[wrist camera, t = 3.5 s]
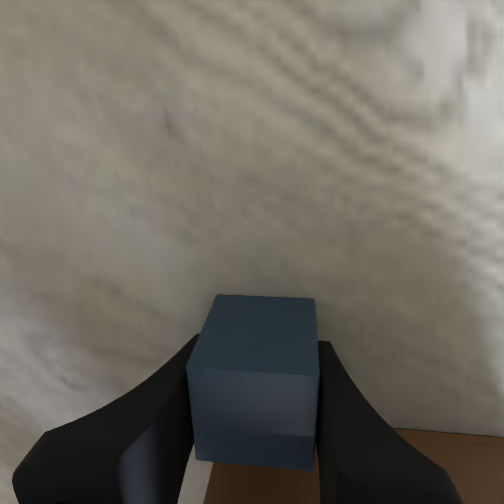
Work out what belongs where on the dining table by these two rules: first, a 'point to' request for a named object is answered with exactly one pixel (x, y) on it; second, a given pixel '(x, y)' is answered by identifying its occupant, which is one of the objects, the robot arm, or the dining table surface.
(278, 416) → the block
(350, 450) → the robot arm
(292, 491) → the carton
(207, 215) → the dining table surface
